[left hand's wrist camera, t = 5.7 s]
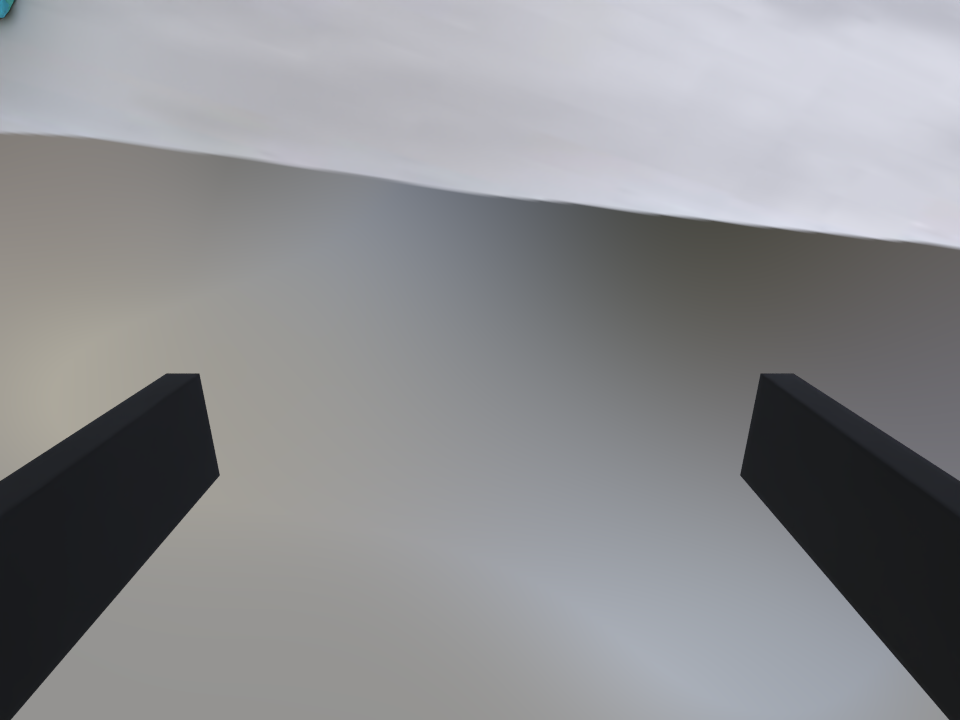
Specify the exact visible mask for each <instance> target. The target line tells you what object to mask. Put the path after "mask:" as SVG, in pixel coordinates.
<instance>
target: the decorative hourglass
mask: <svg viewBox="0 0 960 720" xmlns="http://www.w3.org/2000/svg"><path fill="white" fill-rule="evenodd" d="M13 1H14V0H0V18H4V17H5V15H6V14H7V13H8V12H9V10H10V8H11V5H12V3H13Z"/></svg>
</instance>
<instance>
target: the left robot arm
mask: <svg viewBox="0 0 960 720" xmlns="http://www.w3.org/2000/svg"><path fill="white" fill-rule="evenodd" d="M219 475H220V474H219V469H218V464H217V459H216V455H215V449H214V445H213V439H212V435H211V429H210V425H209V419H208V415H207V410H206V405H205V400H204V395H203V390H202V385H201V380H200V375H199V374H165V375H164V376H162V377H161V378H159V379H157V380H156V381H154V382H153V383H151V384H150V385H148V386H147V387H145V388H144V389H142V390H140V391H139V392H137V393H136V394H134V395H133V396H131V397H130V398H128V399H127V400H125V401H123V402H122V403H120V404H119V405H117V406H116V407H114V408H113V409H111V410H110V411H108V412H106V413H105V414H103V415H102V416H100V417H99V418H97V419H96V420H94V421H93V422H91V423H89V424H88V425H86V426H85V427H83V428H82V429H80V430H79V431H77V432H75V433H74V434H72V435H71V436H69V437H68V438H66V439H65V440H63V441H62V442H60V443H59V444H57V445H55V446H54V447H52V448H51V449H49V450H48V451H46V452H45V453H43V454H41V455H40V456H38V457H37V458H35V459H34V460H32V461H31V462H29V463H28V464H26V465H24V466H23V467H21V468H20V469H18V470H17V471H15V472H14V473H12V474H11V475H9V476H8V477H6V478H4V479H3V480H1V481H0V720H11V719H12V718H13V716H14V715H15V714H16V713H17V712H18V711H19V709H20V708H21V707H22V706H23V705H24V704H25V702H26V701H27V700H28V699H29V698H30V697H31V695H32V694H33V693H34V692H35V691H36V690H37V688H38V687H39V686H40V685H41V684H42V683H43V681H44V680H45V679H46V678H47V677H48V676H49V674H50V673H51V672H52V671H53V670H54V668H55V667H56V666H57V665H58V664H59V663H60V662H61V660H62V659H63V658H64V657H65V656H66V655H67V653H68V652H69V651H70V650H71V649H72V647H73V646H74V645H75V644H76V643H77V642H78V640H79V639H80V638H81V637H82V636H83V635H84V633H85V632H86V631H87V630H88V629H89V628H90V626H91V625H92V624H93V623H94V622H95V621H96V619H97V618H98V617H99V616H100V615H101V614H102V612H103V611H104V610H105V609H106V608H107V607H108V605H109V604H110V603H111V602H112V601H113V599H114V598H115V597H116V596H117V595H118V594H119V593H120V591H121V590H122V589H123V588H124V587H125V585H126V584H127V583H128V582H129V581H130V580H131V578H132V577H133V576H134V575H135V574H136V573H137V571H138V570H139V569H140V568H141V567H142V566H143V564H144V563H145V562H146V561H147V560H148V559H149V557H150V556H151V555H152V554H153V553H154V552H155V550H156V549H157V548H158V547H159V546H160V544H161V543H162V542H163V541H164V540H165V539H166V538H167V536H168V535H169V534H170V533H171V532H172V530H173V529H174V528H175V527H176V526H177V525H178V523H179V522H180V521H181V520H182V519H183V518H184V516H185V515H186V514H187V513H188V512H189V511H190V509H191V508H192V507H193V506H194V505H195V504H196V502H197V501H198V500H199V499H200V498H201V497H202V495H203V494H204V493H205V492H206V491H207V490H208V488H209V487H210V486H211V485H212V484H213V483H214V481H215V480H216V479H217V478H218V477H219ZM740 475H741V477H742V478H743V479H744V480H745V481H746V483H747V484H748V485H749V486H750V487H751V488H752V490H753V491H754V492H755V493H756V494H757V495H758V497H759V498H760V499H761V500H762V501H763V502H764V504H765V505H766V506H767V507H768V508H769V509H770V511H771V512H772V513H773V514H774V515H775V516H776V518H777V519H778V520H779V521H780V522H781V523H782V525H783V526H784V527H785V528H786V529H787V531H788V532H789V533H790V534H791V535H792V536H793V538H794V539H795V540H796V541H797V542H798V543H799V545H800V546H801V547H802V548H803V549H804V550H805V552H806V553H807V554H808V555H809V556H810V557H811V559H812V560H813V561H814V562H815V563H816V564H817V566H818V567H819V568H820V569H821V570H822V571H823V573H824V574H825V575H826V576H827V577H828V578H829V580H830V581H831V582H832V583H833V584H834V585H835V587H836V588H837V589H838V590H839V591H840V592H841V594H842V595H843V596H844V597H845V598H846V600H847V601H848V602H849V603H850V604H851V605H852V607H853V608H854V609H855V610H856V611H857V612H858V614H859V615H860V616H861V617H862V618H863V619H864V621H865V622H866V623H867V624H868V625H869V626H870V628H871V629H872V630H873V631H874V632H875V633H876V635H877V636H878V637H879V638H880V639H881V640H882V642H883V643H884V644H885V645H886V646H887V647H888V649H889V650H890V651H891V652H892V653H893V655H894V656H895V657H896V658H897V659H898V660H899V662H900V663H901V664H902V665H903V666H904V667H905V668H906V670H907V671H908V672H909V673H910V674H911V676H912V677H913V678H914V679H915V680H916V681H917V683H918V684H919V685H920V686H921V687H922V688H923V690H924V691H925V692H926V693H927V694H928V695H929V697H930V698H931V699H932V700H933V701H934V702H935V704H936V705H937V706H938V707H939V708H940V709H941V711H942V712H943V713H944V714H945V715H946V716H947V718H948V719H949V720H960V481H959V480H957V479H956V478H954V477H952V476H951V475H949V474H948V473H946V472H945V471H943V470H942V469H940V468H939V467H937V466H936V465H934V464H932V463H931V462H929V461H928V460H926V459H925V458H923V457H922V456H920V455H919V454H917V453H915V452H914V451H912V450H911V449H909V448H908V447H906V446H905V445H903V444H902V443H900V442H898V441H897V440H895V439H894V438H892V437H891V436H889V435H888V434H886V433H884V432H883V431H881V430H880V429H878V428H877V427H875V426H874V425H872V424H871V423H869V422H867V421H866V420H864V419H863V418H861V417H860V416H858V415H857V414H855V413H854V412H852V411H851V410H849V409H847V408H846V407H844V406H843V405H841V404H840V403H838V402H837V401H835V400H834V399H832V398H830V397H829V396H827V395H826V394H824V393H823V392H821V391H820V390H818V389H817V388H815V387H813V386H812V385H810V384H809V383H807V382H806V381H804V380H803V379H801V378H799V377H798V376H796V375H795V374H761V375H760V380H759V385H758V390H757V395H756V400H755V405H754V410H753V414H752V419H751V424H750V429H749V435H748V439H747V444H746V449H745V454H744V459H743V464H742V469H741V474H740Z"/></svg>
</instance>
